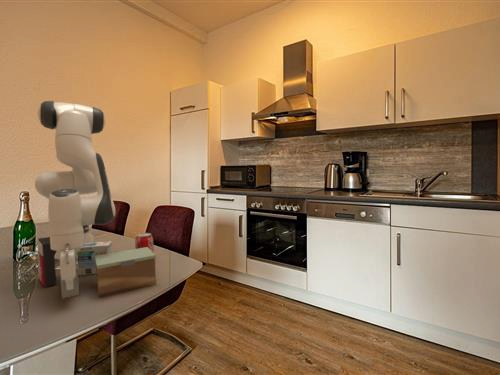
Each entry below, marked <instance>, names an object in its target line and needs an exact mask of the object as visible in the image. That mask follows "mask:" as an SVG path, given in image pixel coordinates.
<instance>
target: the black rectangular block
mask: <svg viewBox="0 0 500 375" xmlns="http://www.w3.org/2000/svg"><path fill="white" fill-rule="evenodd" d="M36 243H37V251H36V252H37V264H38V278H39V280H40V283H41V284H42V286H43V287H45V288H49V287H52V286H56V285H57V276H56V261H55V260H56V259H54V255H55V254H56V250H51V246H50V236H48V237H47V236H46V237H41V238H38V239H37V240H36Z"/></svg>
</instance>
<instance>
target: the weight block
mask: <svg viewBox="0 0 500 375" xmlns="http://www.w3.org/2000/svg"><path fill="white" fill-rule="evenodd" d="M59 277H60V289H61V299H62V298H63V299H65V298H64V297H67V298H72V297H75V296H79V295H80V283H79V281H80V280H79V275H78V268H76V277H75V278H74V279H73V285H74V288H73V289H71V290H67V289H66V282H65V280H62V279H61V275H60V276H59ZM71 296H72V297H71Z"/></svg>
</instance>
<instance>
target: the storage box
mask: <svg viewBox="0 0 500 375" xmlns="http://www.w3.org/2000/svg"><path fill="white" fill-rule="evenodd" d="M95 275H96V285H97V293H98V297H99V298H102V297H107V296H111V295H115V294H116V295H117V294H119V293H123V292H128V291H132V290H136V289H141V288H144V287H149V286H153V285H156V284H157V278H156V276H157V274H156V258H153V259H148V260H142V261H137V262H135V264H134V265H129V266H123V267H121V265H116V266H110V267H105V268H99V269H97V267H96V274H95Z"/></svg>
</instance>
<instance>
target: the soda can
mask: <svg viewBox="0 0 500 375" xmlns="http://www.w3.org/2000/svg"><path fill="white" fill-rule="evenodd" d="M134 244H135V246H134V247H135V248H134V249H138V248H144V247H148V248H149V249H150V250H151V251H152V252H153V253H154V250H155V249H154V238H153V236H152V233H150V232H142V233H137V234H136V237H135V243H134ZM154 254H155V253H154Z"/></svg>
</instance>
